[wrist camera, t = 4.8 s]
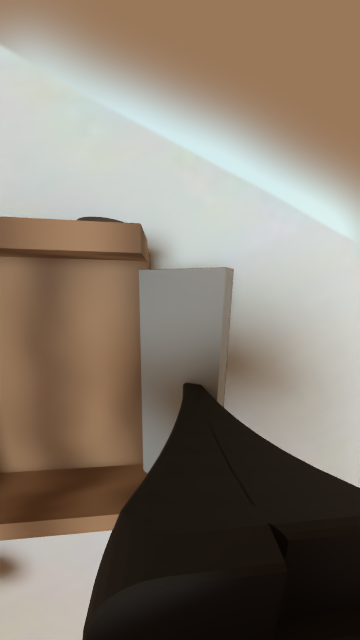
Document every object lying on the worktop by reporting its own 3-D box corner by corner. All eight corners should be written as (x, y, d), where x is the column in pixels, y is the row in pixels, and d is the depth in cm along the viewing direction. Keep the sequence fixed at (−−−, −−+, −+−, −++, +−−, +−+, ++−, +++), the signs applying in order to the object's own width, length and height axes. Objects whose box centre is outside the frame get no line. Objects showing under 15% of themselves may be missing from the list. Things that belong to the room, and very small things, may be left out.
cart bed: (149, 234, 13) (139, 202, 8) (152, 460, 16) (146, 536, 11) (-42, 225, 12) (-195, 183, 7) (7, 469, 15) (-68, 557, 10)
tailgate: (159, 272, 12) (238, 270, 9) (159, 451, 14) (220, 491, 12) (138, 269, 10) (226, 267, 7) (143, 470, 13) (208, 521, 10)
